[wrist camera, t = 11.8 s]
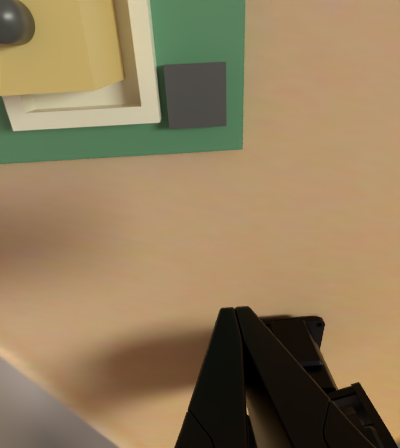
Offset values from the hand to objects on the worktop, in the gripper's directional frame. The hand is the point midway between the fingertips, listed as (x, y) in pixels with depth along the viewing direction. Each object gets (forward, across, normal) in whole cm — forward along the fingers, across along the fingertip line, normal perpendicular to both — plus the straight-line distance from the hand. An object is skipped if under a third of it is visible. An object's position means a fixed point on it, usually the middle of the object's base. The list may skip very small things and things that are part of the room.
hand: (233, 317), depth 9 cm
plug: (+11, +6, -8) cm, 15 cm away
